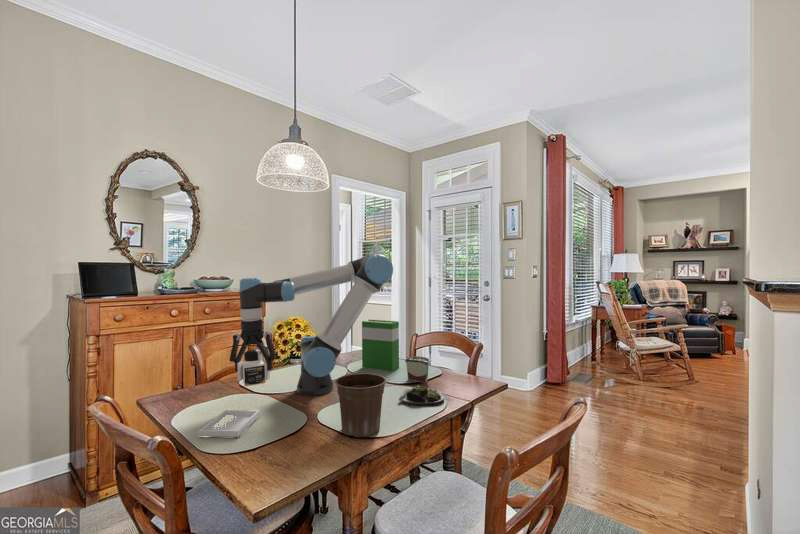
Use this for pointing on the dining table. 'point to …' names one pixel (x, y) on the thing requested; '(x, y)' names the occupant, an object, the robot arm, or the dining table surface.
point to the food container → (417, 368)
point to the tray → (230, 424)
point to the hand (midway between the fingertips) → (254, 379)
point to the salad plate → (421, 396)
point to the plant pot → (360, 403)
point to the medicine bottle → (253, 368)
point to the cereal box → (380, 345)
